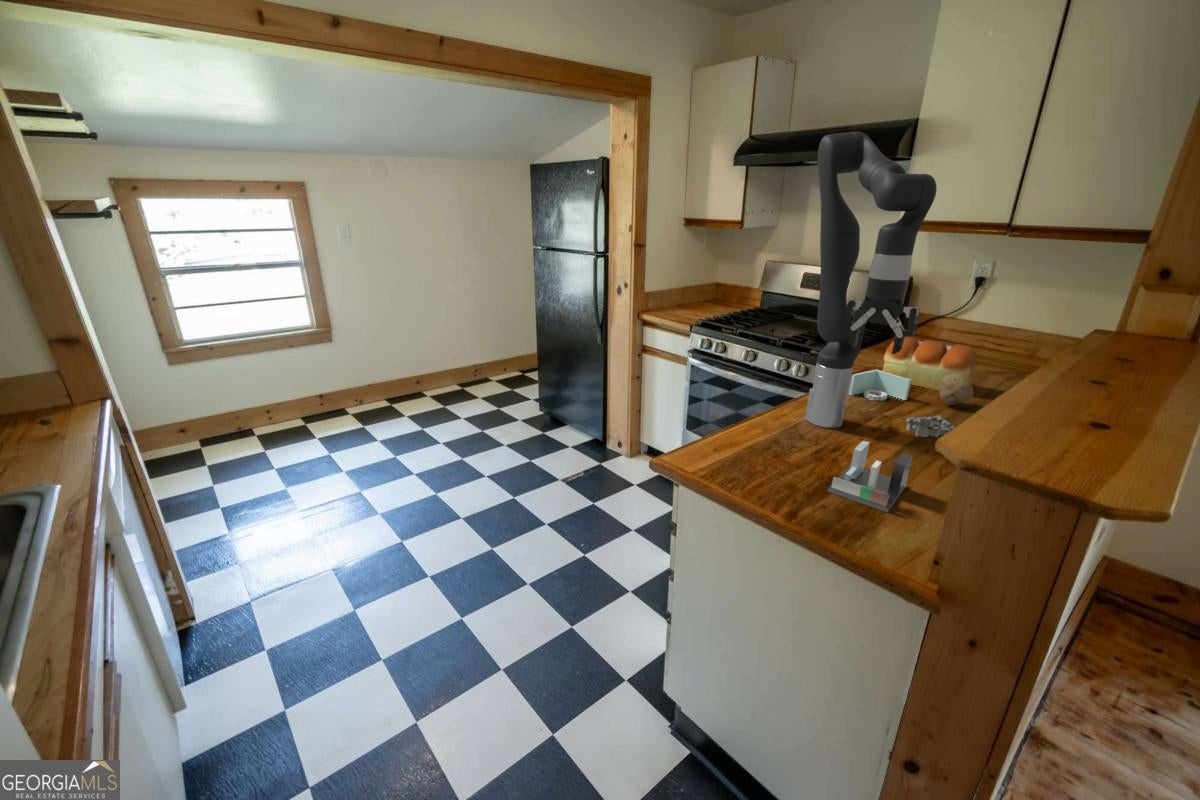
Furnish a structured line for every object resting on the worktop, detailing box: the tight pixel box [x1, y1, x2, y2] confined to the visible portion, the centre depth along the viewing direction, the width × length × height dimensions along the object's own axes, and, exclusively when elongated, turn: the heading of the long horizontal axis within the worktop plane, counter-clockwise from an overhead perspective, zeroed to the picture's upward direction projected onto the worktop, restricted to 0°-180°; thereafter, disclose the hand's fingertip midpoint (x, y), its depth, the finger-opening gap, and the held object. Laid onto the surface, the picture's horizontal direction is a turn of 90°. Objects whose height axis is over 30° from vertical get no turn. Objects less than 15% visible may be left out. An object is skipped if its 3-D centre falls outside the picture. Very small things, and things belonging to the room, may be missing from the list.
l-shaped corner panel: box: [848, 369, 911, 402], centre depth 166 cm, size 12×12×8 cm
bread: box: [882, 336, 977, 391], centre depth 178 cm, size 25×12×15 cm, turn 47°
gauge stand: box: [827, 453, 914, 513], centre depth 113 cm, size 12×14×8 cm
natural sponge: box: [938, 374, 974, 406], centre depth 159 cm, size 9×9×10 cm
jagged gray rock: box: [905, 414, 955, 438], centre depth 142 cm, size 11×8×4 cm
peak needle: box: [867, 460, 883, 489], centre depth 109 cm, size 1×4×7 cm, turn 137°
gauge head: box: [845, 440, 871, 481], centre depth 115 cm, size 1×10×7 cm, turn 137°
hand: (873, 349), depth 116 cm, fingers open, 8 cm apart
